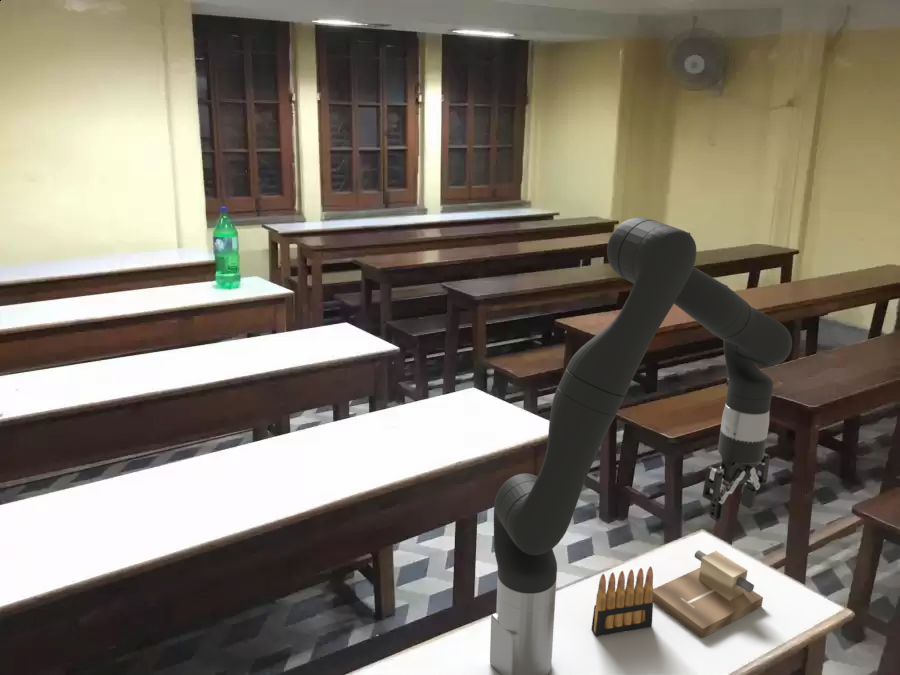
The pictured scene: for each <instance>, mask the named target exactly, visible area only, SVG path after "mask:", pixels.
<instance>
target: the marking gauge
mask: <svg viewBox="0 0 900 675" xmlns="http://www.w3.org/2000/svg"><path fill="white" fill-rule="evenodd" d="M694 558H695V559H697V560H698V561H699V562H700V565H699V566H700V567H699V568H700V574H699V581H701V582H702V583H704V584H705V585H707V586H708V587H710V588H711V589H713V590H714V591H716V592H717V593H719V594H720V595H722V596H723V597H725V598H726V599H727V600H729V601H730V600H732V599H734V598H736V597H738V596H740V595H742V594H744V590H746V591H747V592H749V593H750V592H752V591H754V589H755V584H753V583H752V582H750V581H749V580H747V578H748V576H747V575H748V569H746V568H745V567H744V566H741V565H739V564H738V563H737V562H735V561H733V560H732V559H730V558H728V557H727V556H725V555H724V554H722V553H720V552H719V551H717V550H715V551H713V552H710V553H709V554H707V553H704V552H703V551H701V550H700V549H699V550H697V551H695V553H694Z"/></svg>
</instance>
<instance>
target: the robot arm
mask: <svg viewBox="0 0 900 675" xmlns="http://www.w3.org/2000/svg"><path fill="white" fill-rule="evenodd" d="M606 253H607V254H606V256H607V260H608V263H609V266H610V267H611V268H612V270H613V271H614V272H615V274H617V276H620V277H621V279H624V280H626V281H627V282H630V283H632V284H633V287H632V288H631V291H630V292H629V295H628V297H627V299H626V300H625V303H624V304H623V306H622V308H621V310H620V311H619V312H618V314H617V316H616V317H615V318H614V319H613V320H612V321H611V322H610V323H609V325H607V326H606V327H605V328H604V329H602V330H601V331H600V332H599V333H597V334H596V335H594V336H593V337H592V338H591V339H590V340H588V341H587V342H586V343H585V344H584V345H582V346H581V347H580V348H579V349H578V350H577V351H576V352H575V353H574V355H572V357H571V359H570V360H569V362H568V364H567V366H566V368H565V370H564V373H563V374H562V377H561V379H560V381H559V384H558V385H557V388H556V389H555V393H554V395H553V399H552V401H551V402H552V403H551V408H550V414H549V422H548V434H547V435H548V436H547V444H546V451H545V457H544V460H543V463H542V465H541V469H540V471H539V473H538V475H535V474H532V473H519V474H516V475H513V476H511V477H510V478H508V479H507V480H505V482H504V483H503V484H502V485H500V488H499V489H498V491H497V494H496V496H495V500H494V505H493V549H494V550H493V551H494V556H495V557H494V558H495V560H496V566H497V582H496V583H497V588H496V609H495V611H496V613H493V614H491V615H490V616H491V617H490V647H489V649H490V650H489V664H490V665H492V667H493V668H494V669H495V670H496V671H497V673H498V674H499V675H550V673H551V670H552V658H553V657H552V656H553V646H554V645H553V643H554V628H555V627H554V625H555V612H556V611H555V608H556V593H557V578H558V576H557V574H558V562H557V558H556V555H555V552H554V550H553V549H554V548H555V547H556V546H557V545H558V544H559V543H560V541H562V539H563V538H564V536H565V535H566V533H567V531H568V529H569V526H570V523H571V521H572V519H573V516H574V513H575V510H576V507H577V504H578V502H579V499H580V496H581V494H582V491H583V488H584V485H585V482H586V480H587V478H588V475H589V472H590V470H591V468H592V465H593V463H594V462H595V460H596V457H597V455H598V452H599V451H600V448H601V446H602V443H603V442H604V439H605V437H606V435H607V434H608V433H607V432H608V431H609V429H610V427H611V425H612V424H613V422H614V419H615V417H616V416H617V413H618V412H619V410H620V408H621V405H622V403H623V401H624V399H625V397H626V396H627V393H628V391H629V389H630V385H631V384H632V382H633V379H634V376H635V375H636V372H637V370H638V369H639V366H640V364H641V362H642V360H643V358H644V357H645V355H646V353H647V351H648V349H649V347H650V346H651V343H652V341H653V340H654V337H655V336H656V334H657V332H658V331H659V328H661V325H662V324H663V322H664V320H665V319H666V317H667V316H668V315H669V312H670V311H671V309H672V308H673V306H674V305H675V306H676V307H678V308H679V309H680V310H682V312H684V313H686V314H687V315H688V316H689V317H690V318H692V319H693V320H694V321H695V322H697V323H698V324H699V325H701V326H702V327H703V328H705V329H706V330H707V331H709V333H711V334H712V335H714V336H715V337H716V338H719V339H720V340H722V341H723V343H722V344H723V353H724V359H725V367H726V372H727V379H728V385H727V390H726V398H725V405H724V409H723V411H722V416H721V425H720V430H719V437H718V438H719V439H718V444H717V451H718V453H719V455H720V457H721V462H720V464H719V465H718V467H713V466H711V465H710V466H708V467H707V469H706V473H705V479H704V485H703V489H702V497H703V498H704V499H706V500H707V501H709V502H710V504H709V505H710V506H709V511H708V512H709V513H708V515H709V517H710V518H711V519H713V520H714V521H716V522H721V521H722V520H723V516H724V509H725V505H726V504H725V502H726V499H727V498H728V496H730V495H732V494H733V493H734V492H735V490H736V488H737V487H738V486H740V485H742V484H744V485H743V486H742V495H741V499H740V500H741V501H740V503H741V505H742V506H744V507H746V508H747V509H749V510H750V509H752V508H754V507H755V503H756V497H757V496H756V495H757V491H758V490H759V489H760V487H761V485H766V483H767V481H768V474H769V468H770V467H769V466H770V457H771V456H770V454H768V453H766V452H765V451H766V445H767V438H768V433H769V432H768V431H769V427H770V409H771V403H772V396H773V390H774V382H773V379H772V378H771V377H770V376H769V375H768V374H767V373H765V372H764V371H763V370H761V369H760V367H759V366H758V364H761V365H764V366H776V365H779V364H780V363H783V362H784V361H785V360H787V358H789V356H790V354H791V351H792V347H793V339H792V335H791V333H790V331H789V329H787V327H786V326H785V325H784V324H783V323H781V322H780V321H778V320H776V319H775V318H773V317H772V316H769V315H768V314H766V313H764V312H762V311H760V310H759V309H756V308H754V307H753V306H751V305H750V304H749V303H748V302H747V301H746V300H745V299H743V297H742V296H740V295H739V294H737V292H735V291H734V290H732V289H731V288H730V287H729V286H727V285H725V284H724V283H722V282H721V281H720V280H717V279H716V278H714V277H713V276H710V275H709V274H708V273H705V272H704V271H703V270H702V271H701V270H700V269H698V268H697V267H695V263H696V259H697V245H696V241H695V239H694V237H693V236H692V235H691V233H689V232H687V231H685V230H683V229H680V228H677V227H674V226H672V225H669V224H665V223H664V222H659V221H657V220H653V219H651V218H647V217H645V218H644V217H633V218H629V219H627V220H624V221H622V222H620V224H619V225H617V227H615V229H614V230H613V231H612V233H611V235H610V237H609V240H608V243H607V246H606ZM759 472H760V473H761V474H759ZM723 481H724V483H726V484H728V486H726V485H725V484H723V483H722V482H723ZM721 490H723V491H722V492H721ZM720 493H721V495H720Z"/></svg>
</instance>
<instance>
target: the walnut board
mask: <svg viewBox="0 0 900 675" xmlns="http://www.w3.org/2000/svg"><path fill="white" fill-rule="evenodd" d="M699 574H700V567H699V568H696V569H694V570H692V571H689V572H687V573H685V574H683V575H681V576H678V577H676V578H674V579H672V580H671V581H668V582H665V583H663V584H661V585H659V586H657V587H655V588H653V596H652V602H653V604H654V603H655V604H656V605H657V606H658V607H660V608H661V609H662V610H664V611H665V612H666V613H667V614H669V615H670V616H671V617H673V618H674V619H676V621H677V622H679V623H680V624H682V625H683V626H685V627H686V628H688V629H689V630H690V631H691V632H693V633H694V634H695V635H696V636H698V637H699V638H701V639H703V638H705V637H706V636H709V635H710V634H712V633H714V632H716V631H718V630H720V629H722V628H724V627H726V626H727V625H730V624H731V623H734V622H735V621H737V620H739V619H741V618H743V617H744V616H747V615H748V614H750V613H752V612H754V611H756V610H758V609H759V608H762V606H763V601H764V600H763V599H764V597H763V596H762V595H760V594H758V593H757V592H756V591H754V590H752V592H750V593H749V592H747V591H746V590H744V594H742V595H740V596H738V597H736V598H734V599H732V600H730V601H729V600H727V599H726V598H725V597H723V596H722V595H720V594H719V593H717V592H716V591H714V590H713V589H711V588H710V587H708V586H707V585H705V584H704V583H702V582H701V581H699Z"/></svg>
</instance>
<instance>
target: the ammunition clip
mask: <svg viewBox="0 0 900 675" xmlns="http://www.w3.org/2000/svg"><path fill="white" fill-rule="evenodd" d="M645 575H646V577H644V576H645ZM645 575H644V570H643V567H640V568H639V569H638V572H637V575H636V581H635V575H634V571H633V569H630V570H629V572H628V574H627V577H626V578H627V579H625V573H624V570H621V571H620V573H619V575H618V577H617V578H618V579H617V584H616V577H615V573H614V572H611V573H610V576H609V579H608V583H607V580H606V575H605V574H604V573H602V574H601V576H600V578H599V582H598V588H597V593H596V598H595V600H596V601H595V605H594V608H593V614H592V622H591V623H592V624H591V631H592V632H593V635H594V636H595V637H602V636H608V635H615V634H620V633H624V632H625V631H626V632H631V631H636V630H641V629H646V628H647V629H649V628H652V626H653V614H654V613H653V612H654V602H653V601H652V596H653V589H654V586H653V583H654V571H653V567H652V566H651V565H650V566H649V567H648V569H647V571H646V574H645ZM644 578H645V582H644ZM625 580H626V582H625ZM606 587H607V588H606Z"/></svg>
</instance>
